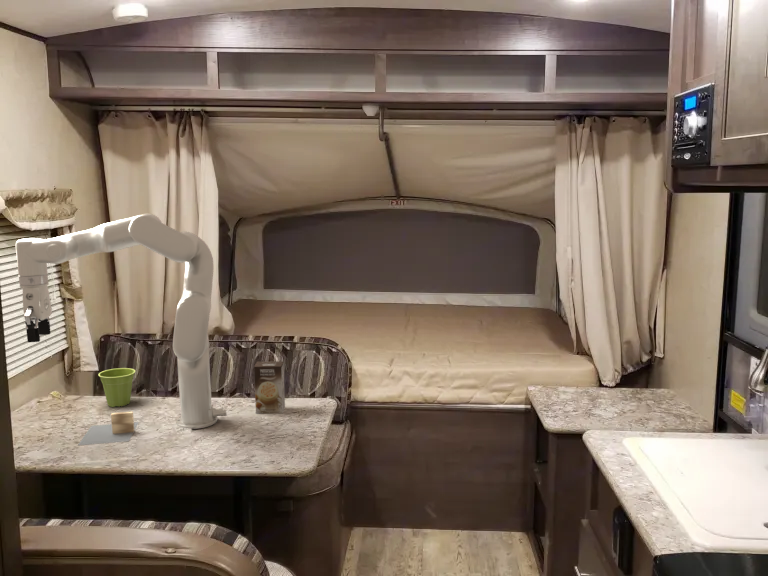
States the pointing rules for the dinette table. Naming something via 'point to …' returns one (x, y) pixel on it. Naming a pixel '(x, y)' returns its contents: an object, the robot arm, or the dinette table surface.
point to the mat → (104, 435)
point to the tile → (122, 422)
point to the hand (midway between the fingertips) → (39, 338)
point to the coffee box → (269, 387)
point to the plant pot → (117, 385)
